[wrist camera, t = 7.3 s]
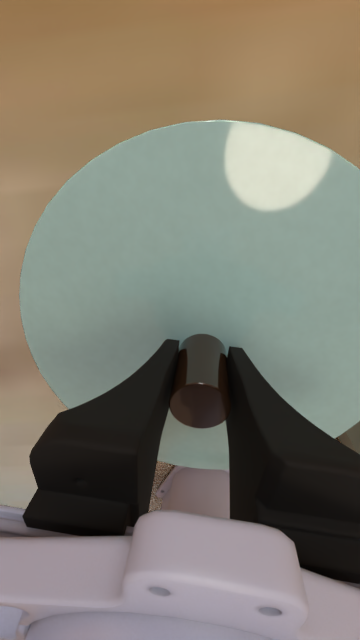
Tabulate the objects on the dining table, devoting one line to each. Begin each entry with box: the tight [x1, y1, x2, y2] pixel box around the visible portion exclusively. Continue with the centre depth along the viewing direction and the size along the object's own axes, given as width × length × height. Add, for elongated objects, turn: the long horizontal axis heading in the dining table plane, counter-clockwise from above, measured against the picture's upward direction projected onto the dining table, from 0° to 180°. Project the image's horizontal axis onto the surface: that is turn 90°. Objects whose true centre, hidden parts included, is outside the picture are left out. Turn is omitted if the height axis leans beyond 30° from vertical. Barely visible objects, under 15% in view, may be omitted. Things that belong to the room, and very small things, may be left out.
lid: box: [19, 119, 360, 470], centre depth 12 cm, size 19×19×5 cm
